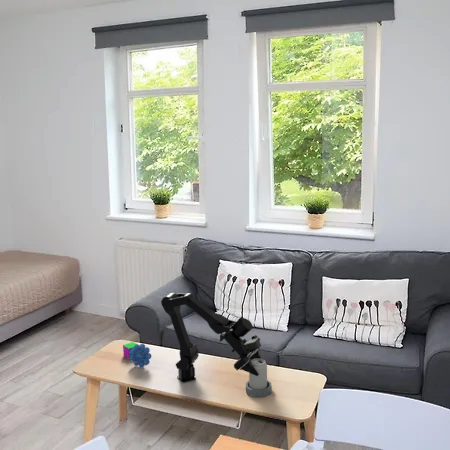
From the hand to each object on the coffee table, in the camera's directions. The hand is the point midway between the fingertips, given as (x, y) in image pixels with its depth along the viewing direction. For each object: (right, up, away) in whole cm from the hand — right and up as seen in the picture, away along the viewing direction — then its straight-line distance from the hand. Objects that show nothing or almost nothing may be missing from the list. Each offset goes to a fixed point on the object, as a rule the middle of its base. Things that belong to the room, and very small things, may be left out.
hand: (261, 371), depth 236 cm
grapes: (-54, -5, +28) cm, 61 cm away
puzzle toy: (-61, -3, +40) cm, 73 cm away
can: (-1, -8, +2) cm, 8 cm away
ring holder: (-1, -9, +2) cm, 9 cm away
